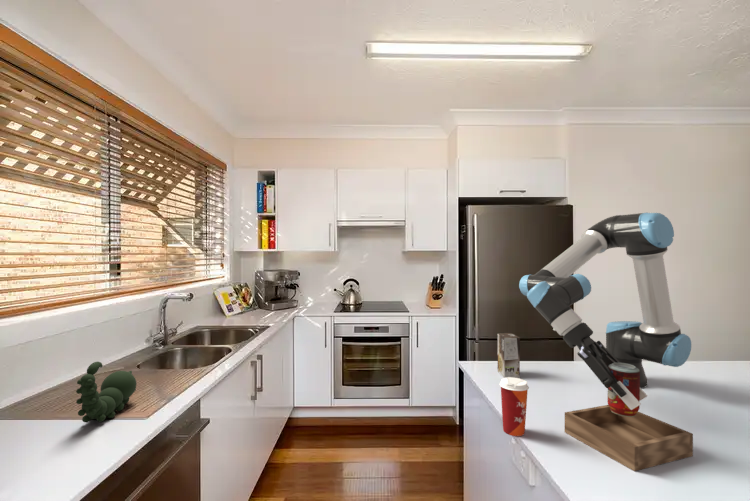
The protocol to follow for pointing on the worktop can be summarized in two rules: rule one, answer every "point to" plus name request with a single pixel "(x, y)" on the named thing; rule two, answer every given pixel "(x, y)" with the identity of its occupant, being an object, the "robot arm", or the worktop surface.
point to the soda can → (630, 380)
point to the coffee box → (509, 355)
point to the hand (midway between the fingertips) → (639, 402)
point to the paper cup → (514, 405)
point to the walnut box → (629, 437)
